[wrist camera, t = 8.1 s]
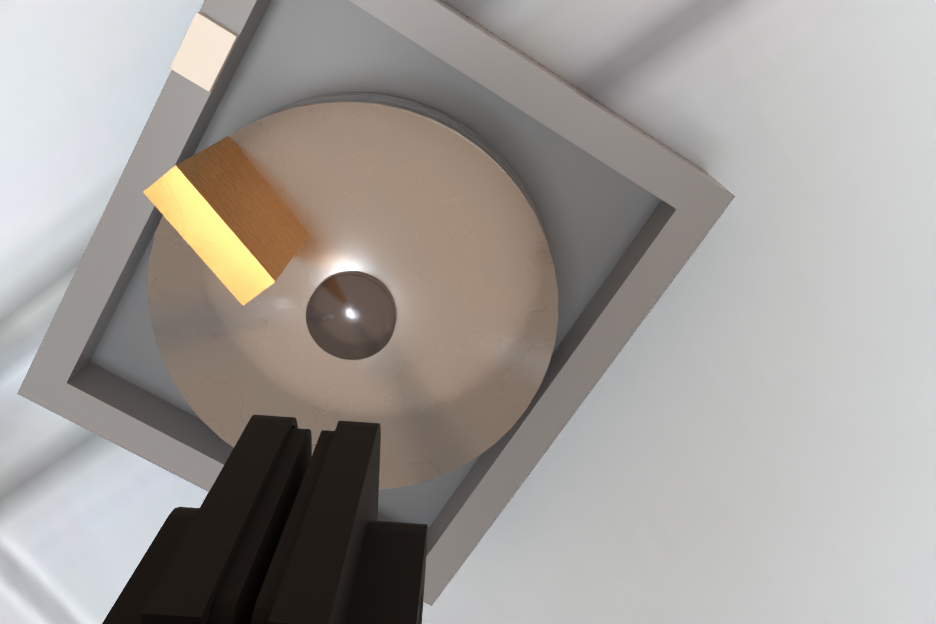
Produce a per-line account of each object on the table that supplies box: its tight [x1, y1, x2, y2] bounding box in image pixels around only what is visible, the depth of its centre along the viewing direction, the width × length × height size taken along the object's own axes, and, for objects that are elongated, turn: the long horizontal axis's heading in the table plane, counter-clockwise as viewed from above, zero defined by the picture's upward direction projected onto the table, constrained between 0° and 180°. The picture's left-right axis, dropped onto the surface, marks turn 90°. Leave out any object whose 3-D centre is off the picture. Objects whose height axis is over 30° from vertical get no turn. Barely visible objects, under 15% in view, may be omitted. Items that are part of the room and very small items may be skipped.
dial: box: [143, 93, 558, 490], centre depth 29 cm, size 14×14×8 cm
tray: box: [17, 0, 735, 606], centre depth 32 cm, size 20×18×4 cm
